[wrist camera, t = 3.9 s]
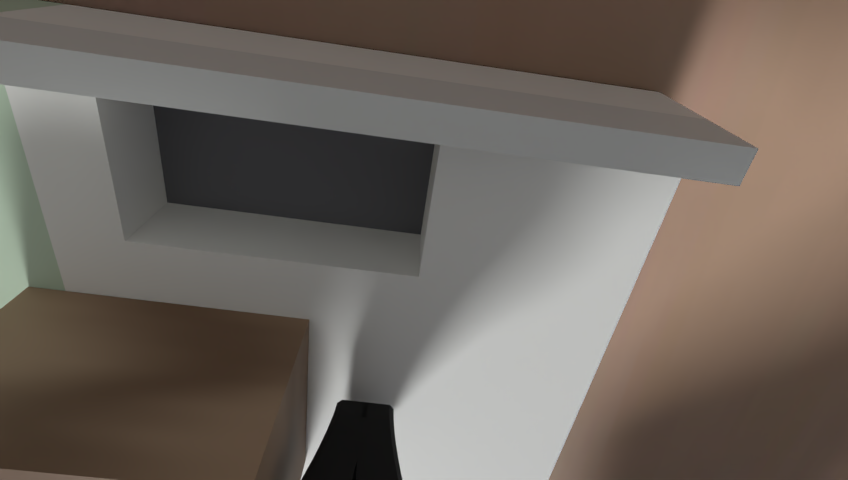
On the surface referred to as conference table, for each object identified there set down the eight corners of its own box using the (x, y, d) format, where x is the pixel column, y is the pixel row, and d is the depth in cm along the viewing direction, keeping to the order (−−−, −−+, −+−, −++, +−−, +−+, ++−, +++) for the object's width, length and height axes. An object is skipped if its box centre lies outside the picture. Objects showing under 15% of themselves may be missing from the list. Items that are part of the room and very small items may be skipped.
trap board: (659, 92, 10) (758, 148, 7) (496, 521, 18) (510, 635, 15) (-357, -59, 9) (-765, -70, 6) (-49, 470, 17) (-154, 582, 14)
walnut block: (309, 319, 11) (250, 492, 7) (305, 460, 13) (260, 638, 10) (28, 286, 10) (-177, 451, 7) (79, 437, 13) (-52, 614, 9)
